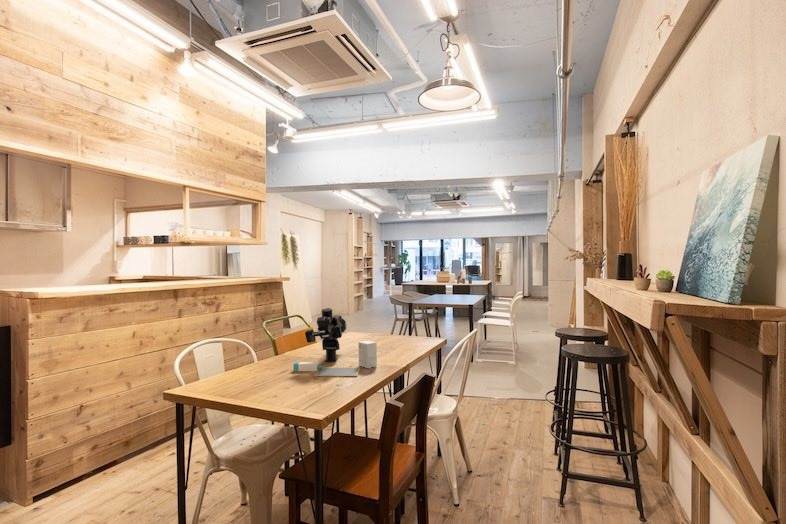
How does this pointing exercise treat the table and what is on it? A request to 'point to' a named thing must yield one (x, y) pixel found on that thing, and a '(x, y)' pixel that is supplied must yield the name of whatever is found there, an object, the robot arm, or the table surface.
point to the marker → (307, 366)
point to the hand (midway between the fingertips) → (319, 339)
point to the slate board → (337, 371)
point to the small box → (367, 354)
